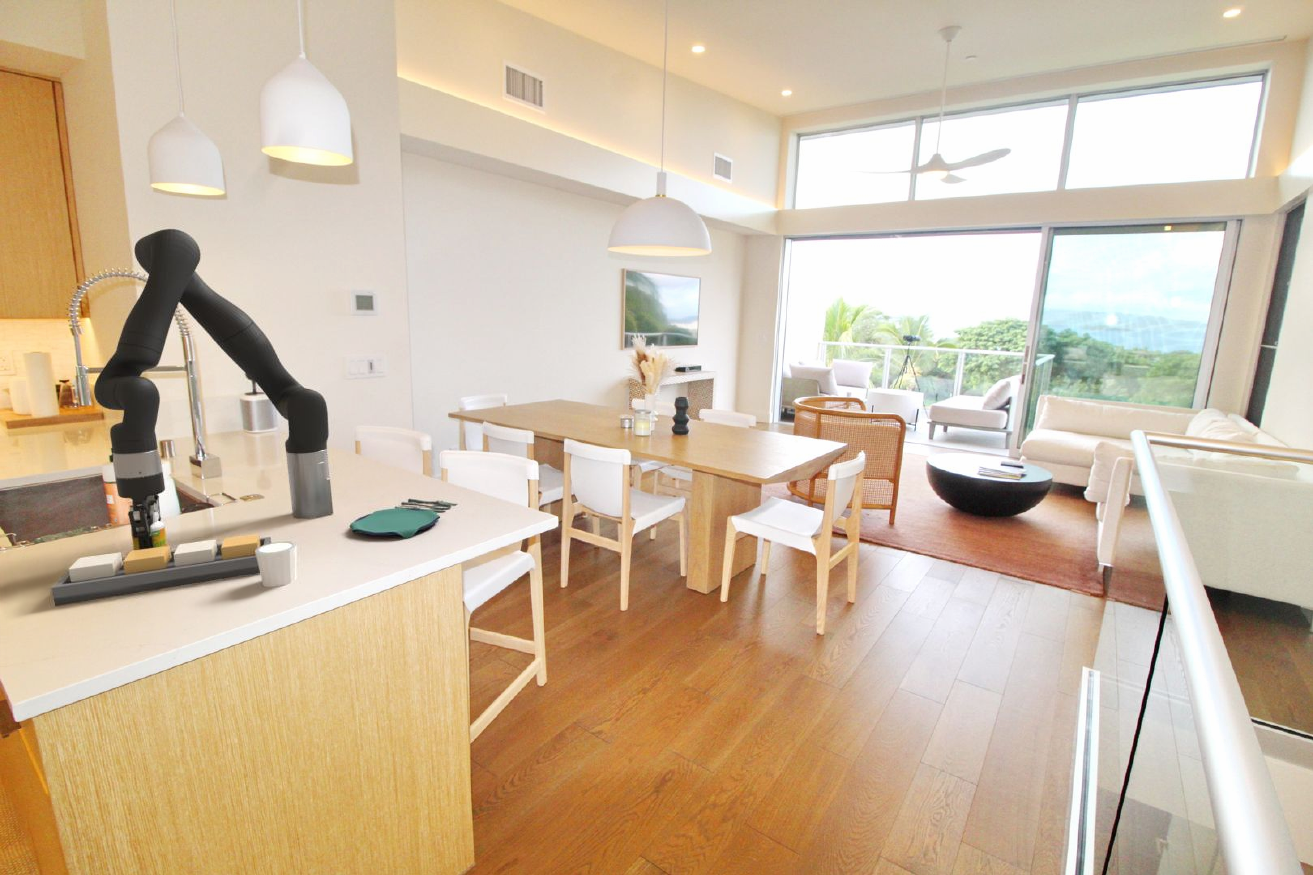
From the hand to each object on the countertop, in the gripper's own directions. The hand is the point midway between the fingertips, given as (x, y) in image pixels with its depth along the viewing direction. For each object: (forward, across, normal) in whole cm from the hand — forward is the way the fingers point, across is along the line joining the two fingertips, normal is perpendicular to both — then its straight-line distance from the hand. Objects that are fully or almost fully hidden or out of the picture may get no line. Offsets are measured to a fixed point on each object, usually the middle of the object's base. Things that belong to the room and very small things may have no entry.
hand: (150, 548), depth 127 cm
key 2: (-1, -14, -10) cm, 17 cm away
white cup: (+2, -26, -24) cm, 35 cm away
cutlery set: (+3, +2, -51) cm, 51 cm away
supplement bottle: (+2, 0, 0) cm, 2 cm away
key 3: (-1, -14, -2) cm, 14 cm away
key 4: (-1, -14, +5) cm, 15 cm away
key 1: (-1, -14, -17) cm, 22 cm away
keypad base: (+2, -14, -6) cm, 15 cm away
